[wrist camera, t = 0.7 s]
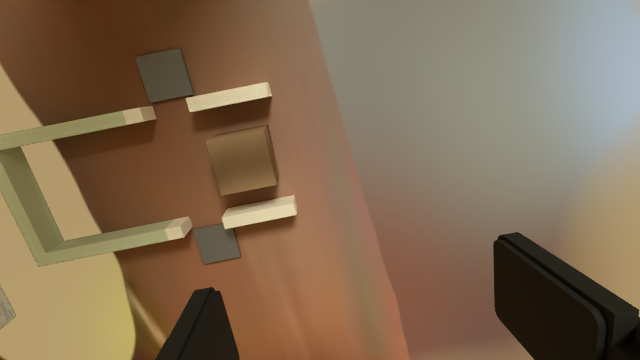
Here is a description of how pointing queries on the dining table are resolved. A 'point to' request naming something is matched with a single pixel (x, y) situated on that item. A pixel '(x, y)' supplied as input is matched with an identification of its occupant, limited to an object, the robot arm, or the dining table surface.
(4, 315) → the medicine box
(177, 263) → the dining table surface
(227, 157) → the walnut block
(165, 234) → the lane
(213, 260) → the pads
